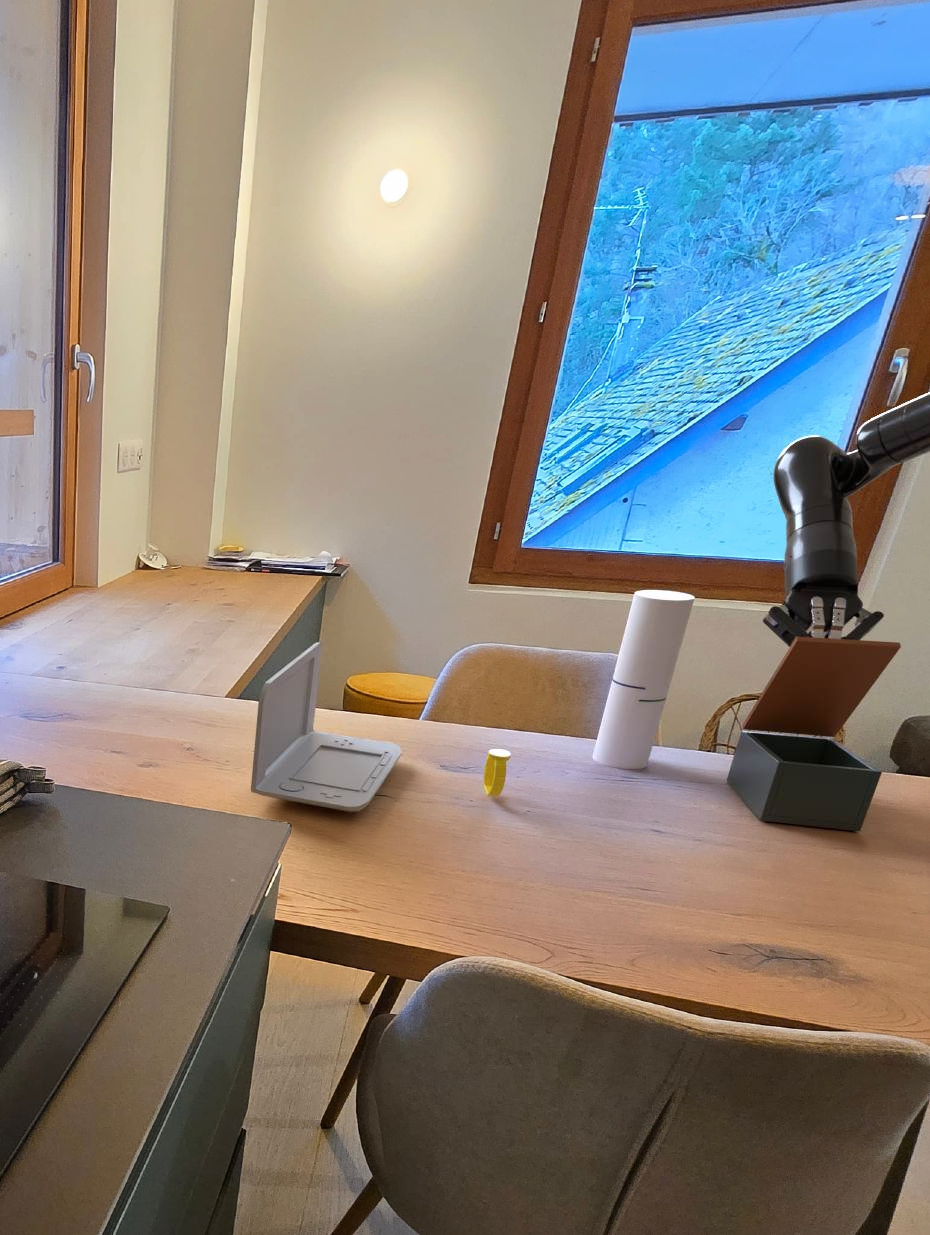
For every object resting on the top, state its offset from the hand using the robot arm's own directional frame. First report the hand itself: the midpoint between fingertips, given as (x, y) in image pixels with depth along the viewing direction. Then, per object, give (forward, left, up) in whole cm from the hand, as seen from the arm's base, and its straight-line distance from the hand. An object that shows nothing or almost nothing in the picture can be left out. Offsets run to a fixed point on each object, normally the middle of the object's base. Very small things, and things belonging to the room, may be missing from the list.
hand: (823, 674), depth 123 cm
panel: (0, 0, -2) cm, 2 cm away
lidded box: (0, +3, -17) cm, 17 cm away
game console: (+58, +13, -17) cm, 62 cm away
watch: (+37, +12, -17) cm, 42 cm away
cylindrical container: (+18, -9, -17) cm, 27 cm away
